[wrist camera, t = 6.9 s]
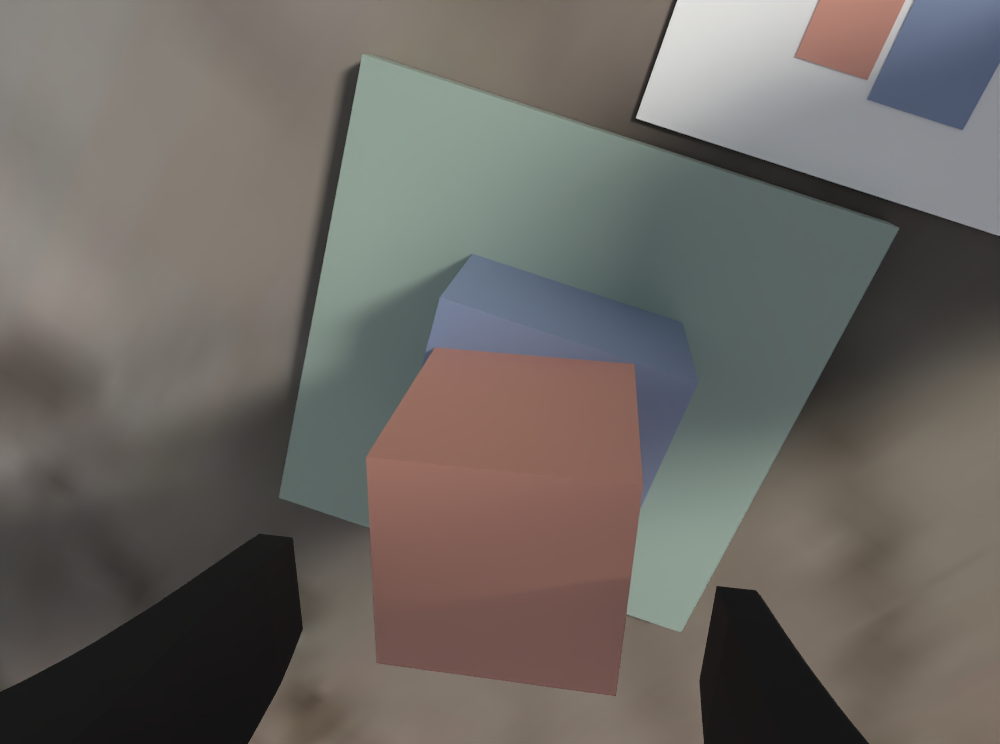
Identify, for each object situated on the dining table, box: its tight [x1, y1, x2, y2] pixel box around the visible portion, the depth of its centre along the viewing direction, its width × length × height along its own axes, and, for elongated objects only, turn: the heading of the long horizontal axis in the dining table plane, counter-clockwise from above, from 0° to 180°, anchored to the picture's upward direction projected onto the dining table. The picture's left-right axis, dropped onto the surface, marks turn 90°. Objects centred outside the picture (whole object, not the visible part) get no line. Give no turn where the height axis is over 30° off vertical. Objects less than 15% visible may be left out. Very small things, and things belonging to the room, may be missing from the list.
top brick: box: [366, 348, 643, 696], centre depth 15 cm, size 4×4×5 cm
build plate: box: [279, 54, 899, 632], centre depth 21 cm, size 14×14×1 cm
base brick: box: [421, 254, 699, 509], centre depth 19 cm, size 6×6×4 cm
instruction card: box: [636, 0, 1000, 236], centre depth 17 cm, size 10×7×1 cm
